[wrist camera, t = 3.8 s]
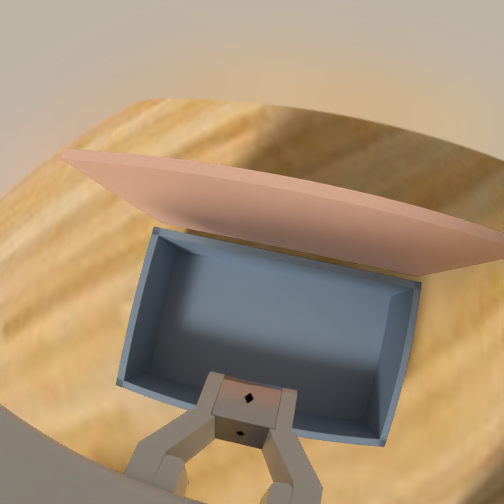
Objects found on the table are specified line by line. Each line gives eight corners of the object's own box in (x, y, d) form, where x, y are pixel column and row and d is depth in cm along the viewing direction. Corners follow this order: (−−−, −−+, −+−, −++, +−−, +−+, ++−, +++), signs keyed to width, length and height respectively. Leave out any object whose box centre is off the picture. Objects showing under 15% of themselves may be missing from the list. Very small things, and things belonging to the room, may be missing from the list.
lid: (416, 276, 19) (417, 270, 19) (528, 252, 8) (528, 241, 8) (161, 223, 21) (162, 217, 21) (60, 158, 10) (64, 148, 10)
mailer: (395, 291, 24) (421, 282, 19) (365, 425, 22) (384, 446, 17) (175, 244, 26) (153, 226, 21) (144, 375, 24) (115, 384, 19)
